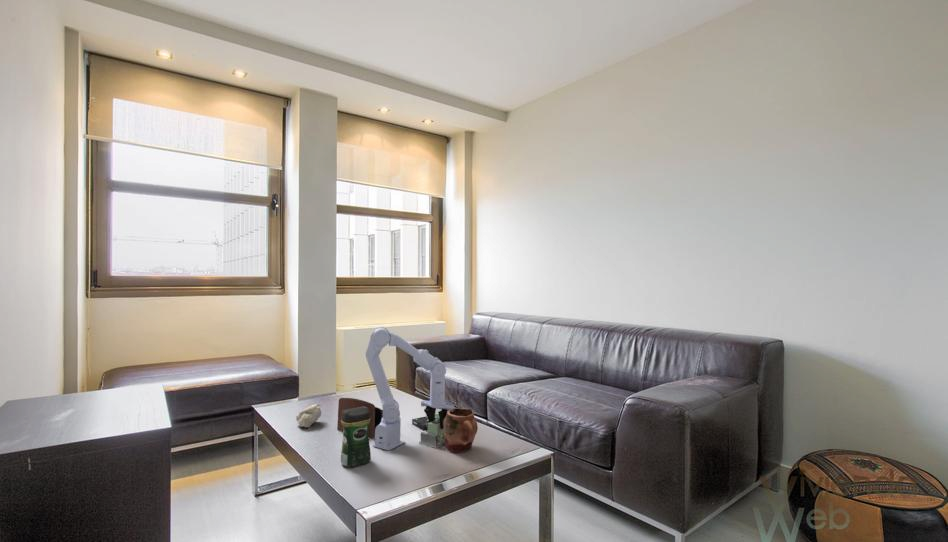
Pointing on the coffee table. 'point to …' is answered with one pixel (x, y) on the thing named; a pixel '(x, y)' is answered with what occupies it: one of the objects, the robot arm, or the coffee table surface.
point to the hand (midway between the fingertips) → (437, 427)
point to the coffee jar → (355, 437)
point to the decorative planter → (459, 430)
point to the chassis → (432, 439)
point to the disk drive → (422, 422)
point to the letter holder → (351, 403)
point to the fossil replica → (309, 416)
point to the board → (435, 427)
